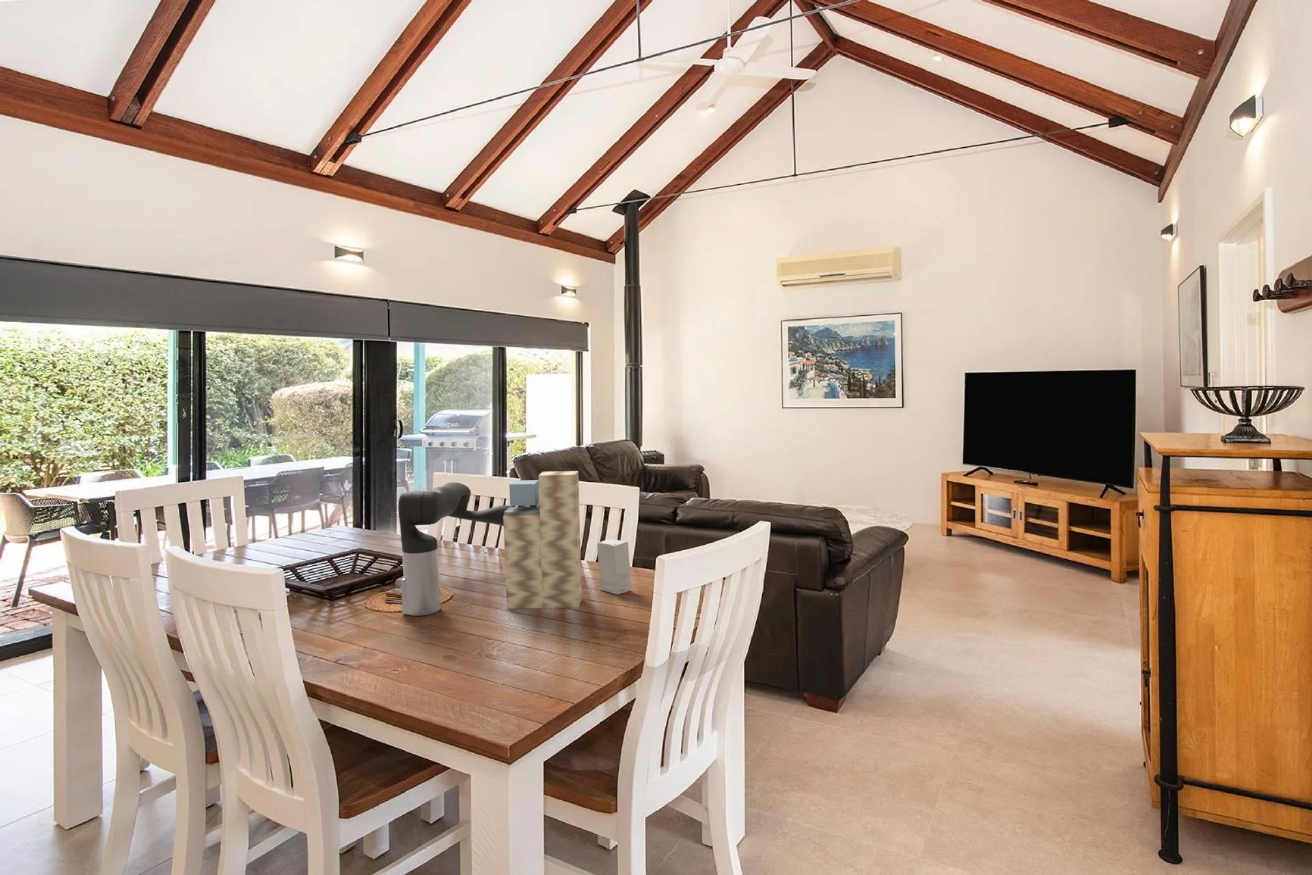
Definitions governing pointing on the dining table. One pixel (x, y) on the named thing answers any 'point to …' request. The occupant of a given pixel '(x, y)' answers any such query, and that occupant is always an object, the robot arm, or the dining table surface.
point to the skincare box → (614, 566)
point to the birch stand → (545, 546)
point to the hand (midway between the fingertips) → (528, 491)
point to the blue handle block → (524, 492)
